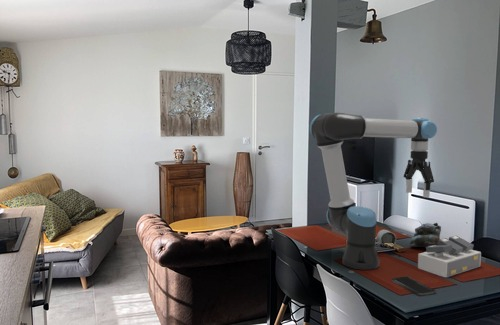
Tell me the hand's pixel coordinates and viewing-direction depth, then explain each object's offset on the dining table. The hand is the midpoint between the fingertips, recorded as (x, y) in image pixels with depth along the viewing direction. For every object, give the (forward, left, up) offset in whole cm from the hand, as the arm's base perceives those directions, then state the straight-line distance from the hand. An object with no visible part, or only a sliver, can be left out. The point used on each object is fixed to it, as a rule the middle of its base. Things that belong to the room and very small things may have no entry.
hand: (417, 194), depth 187 cm
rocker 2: (-13, -26, -16) cm, 33 cm away
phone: (-43, -31, -26) cm, 59 cm away
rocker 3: (-6, -26, -16) cm, 31 cm away
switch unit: (-13, -26, -25) cm, 38 cm away
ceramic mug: (-12, +9, -26) cm, 30 cm away
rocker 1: (-21, -26, -16) cm, 37 cm away
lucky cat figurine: (+2, -3, -26) cm, 26 cm away
